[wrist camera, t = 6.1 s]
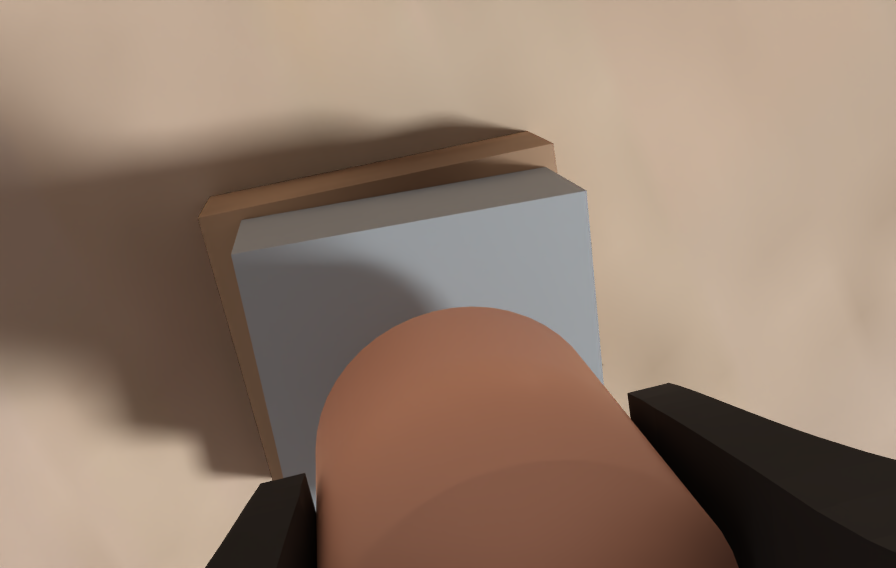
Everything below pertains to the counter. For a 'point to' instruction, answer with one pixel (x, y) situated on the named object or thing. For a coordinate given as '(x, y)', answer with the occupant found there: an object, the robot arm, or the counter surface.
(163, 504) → the counter surface
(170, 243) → the counter surface
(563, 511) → the peach ball
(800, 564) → the robot arm
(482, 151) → the base block
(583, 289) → the top block
